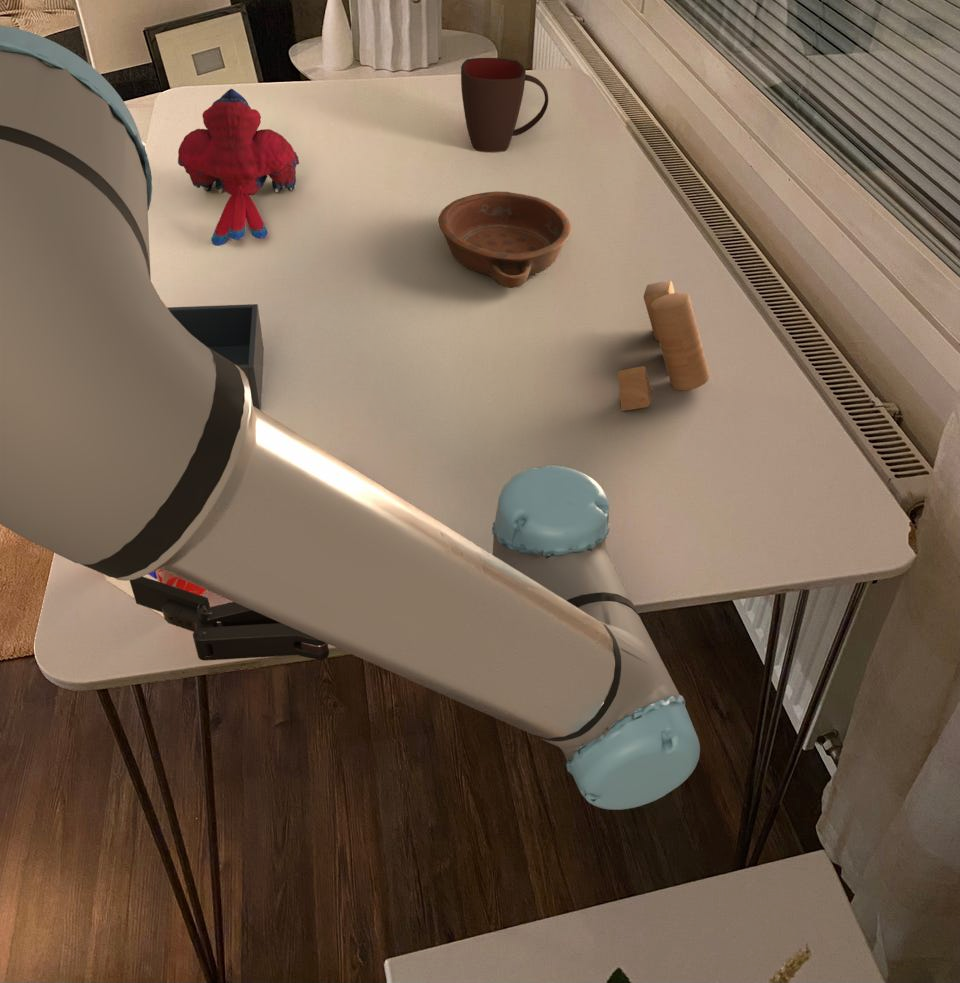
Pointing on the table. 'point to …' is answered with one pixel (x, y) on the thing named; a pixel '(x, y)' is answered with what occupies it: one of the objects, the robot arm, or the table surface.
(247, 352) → the bin
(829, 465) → the table surface
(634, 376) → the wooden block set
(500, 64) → the cup
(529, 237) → the dish
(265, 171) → the figurine
